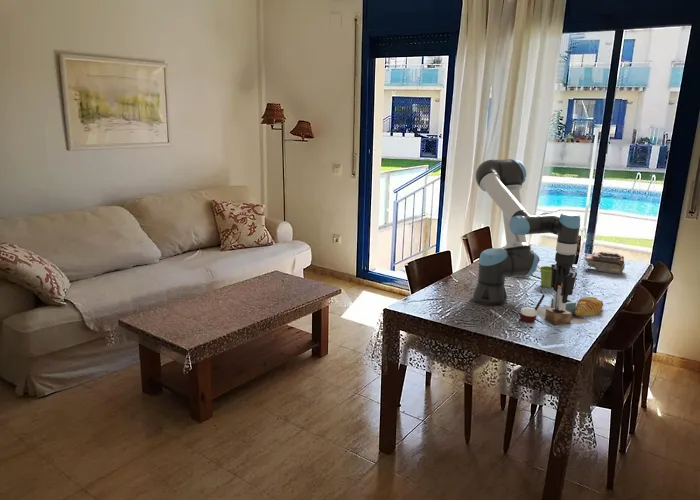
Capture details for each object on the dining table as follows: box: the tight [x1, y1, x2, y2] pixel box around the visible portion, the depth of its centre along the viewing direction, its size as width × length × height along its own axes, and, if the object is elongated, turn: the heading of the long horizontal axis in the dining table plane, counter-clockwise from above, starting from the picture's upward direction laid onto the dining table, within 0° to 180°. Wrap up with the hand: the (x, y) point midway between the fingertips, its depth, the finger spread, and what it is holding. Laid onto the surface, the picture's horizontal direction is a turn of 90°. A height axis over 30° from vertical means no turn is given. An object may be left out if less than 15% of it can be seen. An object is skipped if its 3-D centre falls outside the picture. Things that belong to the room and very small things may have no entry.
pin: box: [555, 284, 563, 313], centre depth 216 cm, size 3×3×15 cm
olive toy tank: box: [584, 251, 626, 275], centre depth 286 cm, size 13×20×10 cm, turn 58°
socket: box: [550, 297, 577, 314], centre depth 227 cm, size 7×7×5 cm
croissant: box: [574, 296, 604, 317], centre depth 228 cm, size 21×10×8 cm, turn 130°
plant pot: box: [539, 265, 556, 288], centre depth 262 cm, size 9×9×9 cm
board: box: [531, 305, 591, 327], centre depth 223 cm, size 17×20×1 cm
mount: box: [545, 308, 572, 324], centre depth 217 cm, size 7×7×4 cm
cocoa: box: [516, 293, 546, 324], centre depth 215 cm, size 10×6×12 cm
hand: (559, 308), depth 216 cm, fingers closed on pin, 3 cm apart
